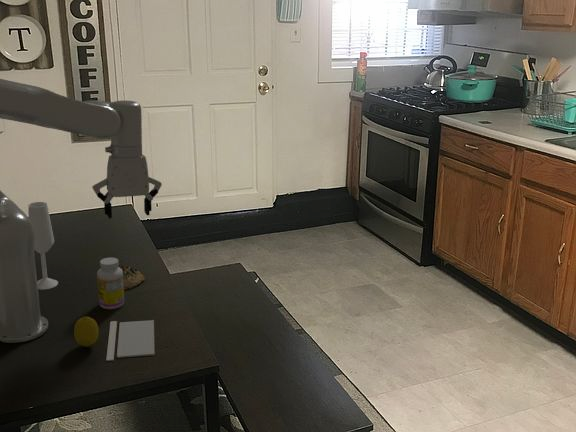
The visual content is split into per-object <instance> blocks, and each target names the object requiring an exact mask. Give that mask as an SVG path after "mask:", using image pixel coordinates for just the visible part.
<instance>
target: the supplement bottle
mask: <svg viewBox="0 0 576 432" xmlns="http://www.w3.org/2000/svg"><path fill="white" fill-rule="evenodd" d="M119 264H120V263H119V259H118V258H116V257H105V258H102V259H101V260H100V261H99V266H100V268H99V269H98V270H97V273H96V280H97V281H96V282H97V294H98V305H99V307H101V308H102V309H105V310H115V309H118V308H121V307H122V306H123V305H124V304H125V289H124V286H123V271H122V269H121V268H119V267H120V266H119Z"/></svg>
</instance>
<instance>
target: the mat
mask: <svg viewBox="0 0 576 432" xmlns="http://www.w3.org/2000/svg"><path fill="white" fill-rule="evenodd" d="M116 350H117V351H116V359H121V358H132V357H133V358H134V357H145V356H146V357H147V356H148V357H149V356H155V355H156V354H155V320H154V319H152V320H151V319H149V320H138V321H135V320H134V321H124V322H123V321H122V322H121V321H120V322H119V327H118V337H117V349H116Z"/></svg>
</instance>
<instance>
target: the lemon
mask: <svg viewBox="0 0 576 432" xmlns="http://www.w3.org/2000/svg"><path fill="white" fill-rule="evenodd" d="M99 333H100V331H99V326H98V323H97V321H96V320H95V319H94V318H92V317H90V316H83V317H81V318H79V319H78V320H77V321H76V322H75V325H74V328H73V335H74V340H75V341H76V342H77V344H79V345H81V346H83V347H87V348H89V347H90V346H92V345H94V344H95V343H96V342H97V340H98V338H99Z"/></svg>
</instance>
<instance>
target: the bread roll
mask: <svg viewBox="0 0 576 432" xmlns="http://www.w3.org/2000/svg"><path fill="white" fill-rule="evenodd" d="M118 267H119V268H121V269H122V271H123V286H124V290H128V288H129V289H132V287H133V288H135V286H136V287H137V285H138V286H139V285H140V284H141V283H142V282H143V281H144V280H145V279H146V278H145V276H144V274H142V273H141V272H140V271H139V270H137V269H136V268H134V267H131V265H128V266H126V267H125V266H124V265H121V266H118Z"/></svg>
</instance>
